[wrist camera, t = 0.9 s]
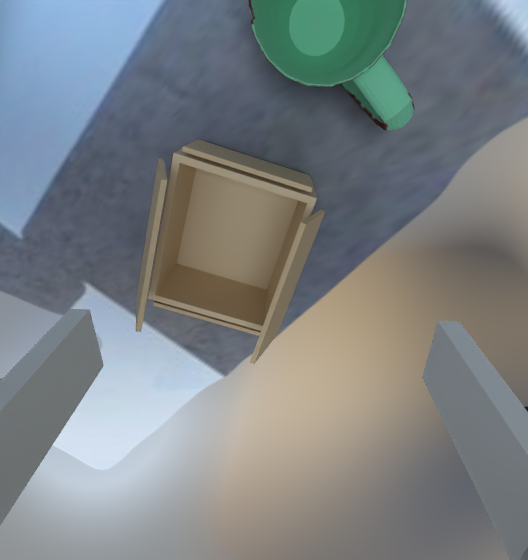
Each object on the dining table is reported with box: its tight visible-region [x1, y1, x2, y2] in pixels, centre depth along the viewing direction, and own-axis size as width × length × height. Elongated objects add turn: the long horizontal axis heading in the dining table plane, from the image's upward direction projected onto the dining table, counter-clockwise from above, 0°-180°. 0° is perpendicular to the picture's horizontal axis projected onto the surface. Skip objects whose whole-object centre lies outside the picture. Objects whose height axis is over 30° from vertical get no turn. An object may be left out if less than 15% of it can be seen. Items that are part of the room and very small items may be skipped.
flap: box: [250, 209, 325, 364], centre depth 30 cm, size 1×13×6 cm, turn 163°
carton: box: [148, 139, 317, 336], centre depth 36 cm, size 12×15×8 cm
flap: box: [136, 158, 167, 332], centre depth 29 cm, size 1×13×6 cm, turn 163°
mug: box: [249, 0, 414, 131], centre depth 27 cm, size 15×10×10 cm
